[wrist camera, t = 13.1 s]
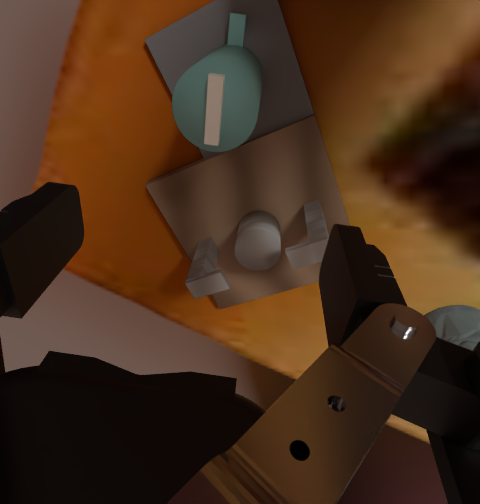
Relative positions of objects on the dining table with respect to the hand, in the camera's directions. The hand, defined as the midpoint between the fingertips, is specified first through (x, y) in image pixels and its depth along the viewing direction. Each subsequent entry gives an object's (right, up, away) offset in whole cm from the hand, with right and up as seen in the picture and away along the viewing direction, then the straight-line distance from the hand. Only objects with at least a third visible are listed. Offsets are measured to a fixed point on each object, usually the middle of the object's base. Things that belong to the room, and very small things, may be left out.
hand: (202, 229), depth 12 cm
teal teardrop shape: (+1, +13, +17) cm, 21 cm away
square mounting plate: (+3, +2, +24) cm, 25 cm away
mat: (+1, +13, +17) cm, 22 cm away
